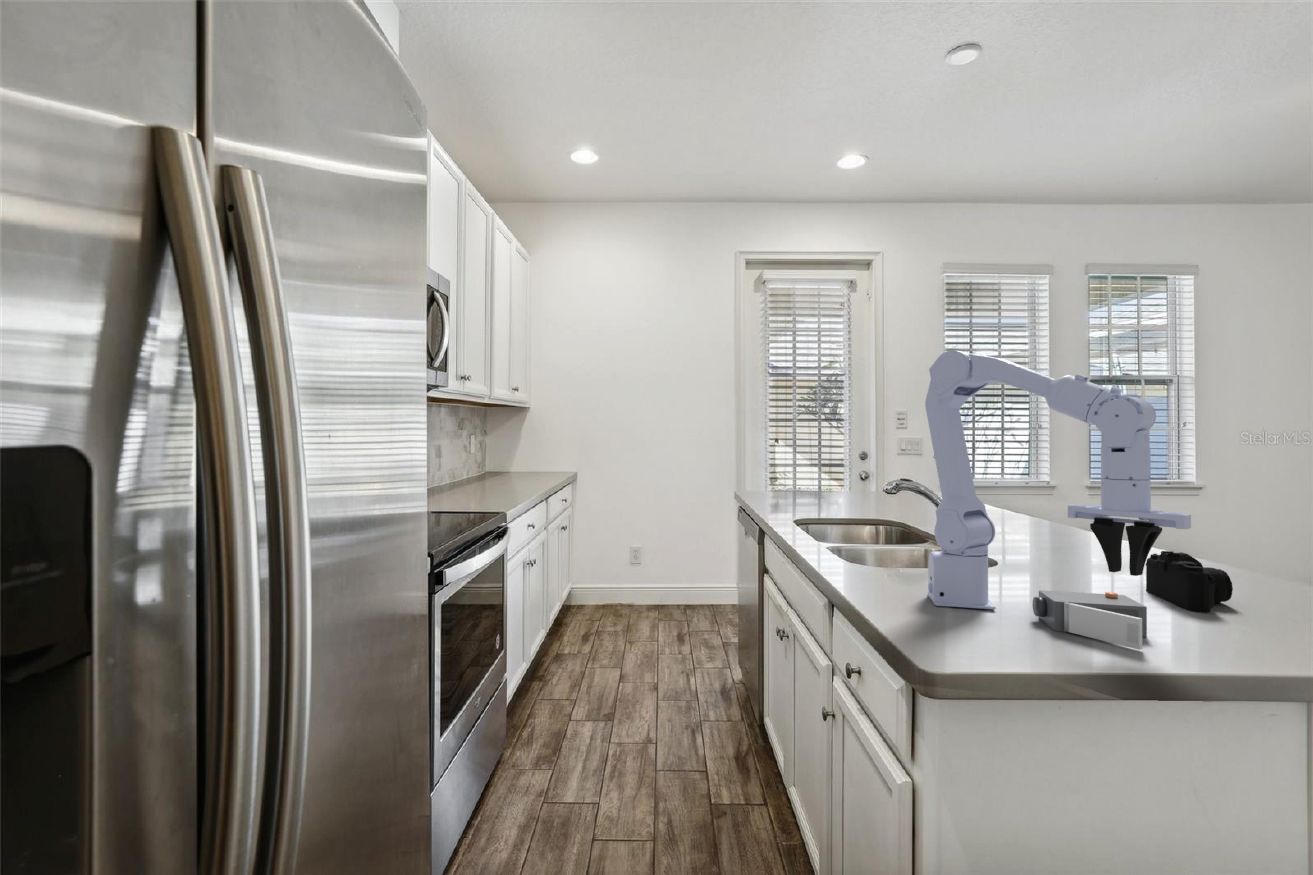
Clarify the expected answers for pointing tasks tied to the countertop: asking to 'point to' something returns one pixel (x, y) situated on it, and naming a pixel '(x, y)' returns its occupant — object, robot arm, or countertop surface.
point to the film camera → (1186, 581)
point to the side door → (1103, 625)
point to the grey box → (1052, 605)
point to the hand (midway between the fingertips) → (1125, 573)
